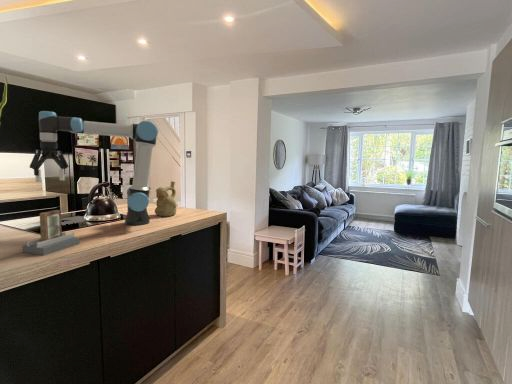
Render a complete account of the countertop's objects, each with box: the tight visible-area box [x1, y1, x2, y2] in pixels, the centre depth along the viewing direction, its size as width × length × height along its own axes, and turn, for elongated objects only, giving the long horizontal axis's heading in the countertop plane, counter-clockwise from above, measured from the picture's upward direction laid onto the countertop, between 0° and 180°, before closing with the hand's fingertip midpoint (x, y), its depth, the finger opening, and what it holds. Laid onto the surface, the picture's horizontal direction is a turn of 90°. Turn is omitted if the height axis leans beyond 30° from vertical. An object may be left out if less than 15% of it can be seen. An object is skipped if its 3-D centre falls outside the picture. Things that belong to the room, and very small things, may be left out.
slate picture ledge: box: [22, 231, 80, 256], centre depth 134 cm, size 18×12×5 cm, turn 165°
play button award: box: [61, 215, 88, 226], centre depth 189 cm, size 16×2×20 cm
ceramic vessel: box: [154, 180, 178, 217], centre depth 217 cm, size 17×20×25 cm
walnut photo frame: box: [39, 209, 63, 242], centre depth 134 cm, size 9×3×14 cm, turn 173°
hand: (50, 181), depth 157 cm, fingers open, 13 cm apart
